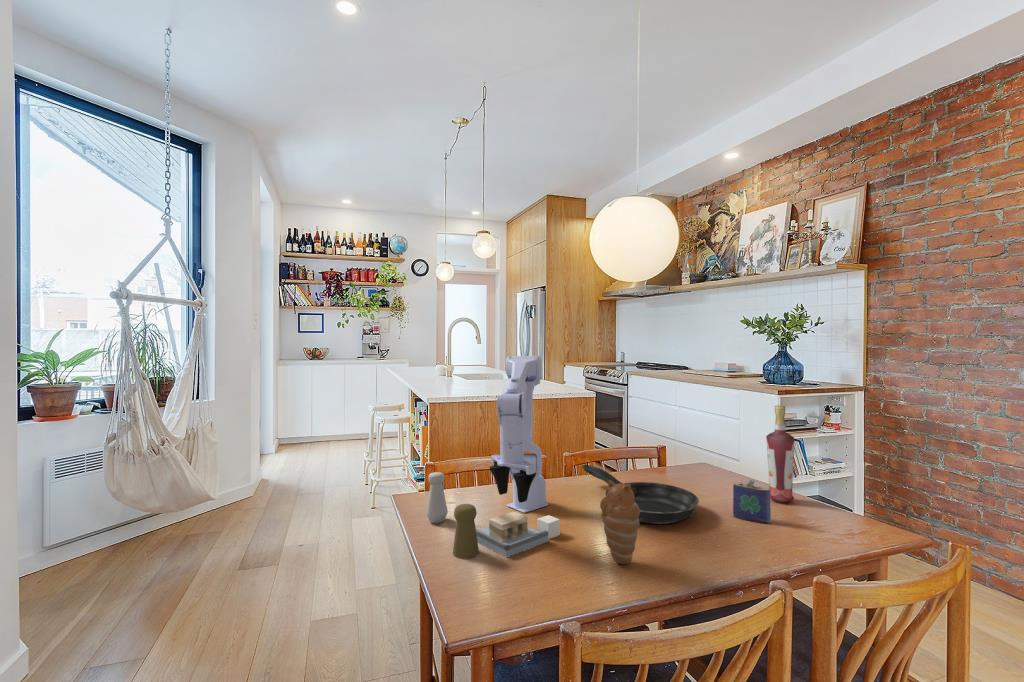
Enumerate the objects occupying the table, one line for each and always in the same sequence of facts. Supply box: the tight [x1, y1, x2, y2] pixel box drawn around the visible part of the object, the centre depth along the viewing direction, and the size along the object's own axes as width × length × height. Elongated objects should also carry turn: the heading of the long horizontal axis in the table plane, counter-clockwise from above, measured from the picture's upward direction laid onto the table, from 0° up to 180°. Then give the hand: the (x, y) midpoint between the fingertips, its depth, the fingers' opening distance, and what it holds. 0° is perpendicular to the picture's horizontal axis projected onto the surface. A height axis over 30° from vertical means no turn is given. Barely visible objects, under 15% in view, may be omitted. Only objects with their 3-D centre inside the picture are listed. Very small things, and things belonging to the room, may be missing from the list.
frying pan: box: [582, 464, 700, 525], centre depth 147 cm, size 44×25×7 cm, turn 26°
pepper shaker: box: [452, 503, 480, 559], centre depth 115 cm, size 6×6×11 cm
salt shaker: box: [425, 471, 449, 524], centre depth 135 cm, size 6×6×13 cm
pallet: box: [488, 510, 529, 542], centre depth 122 cm, size 8×5×4 cm, turn 130°
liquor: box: [765, 405, 795, 504], centre depth 147 cm, size 7×7×28 cm
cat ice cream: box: [599, 480, 641, 565], centre depth 108 cm, size 9×8×18 cm
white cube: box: [536, 514, 561, 540], centre depth 125 cm, size 4×4×4 cm
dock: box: [476, 526, 549, 558], centre depth 122 cm, size 13×14×2 cm
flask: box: [732, 479, 772, 525], centre depth 132 cm, size 9×3×11 cm, turn 50°
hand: (512, 497), depth 122 cm, fingers open, 7 cm apart
